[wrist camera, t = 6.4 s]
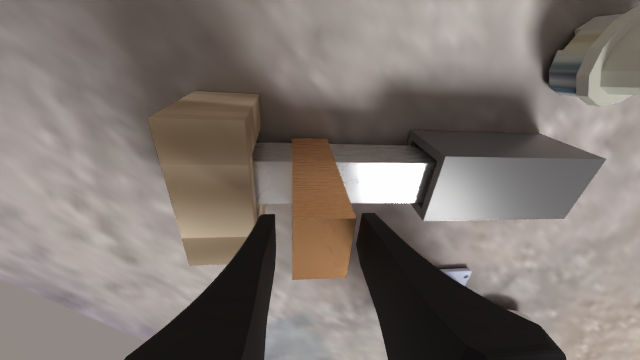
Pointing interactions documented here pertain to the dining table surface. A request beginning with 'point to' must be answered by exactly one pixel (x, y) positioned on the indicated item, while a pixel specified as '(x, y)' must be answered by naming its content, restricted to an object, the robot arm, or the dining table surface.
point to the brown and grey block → (334, 192)
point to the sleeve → (501, 175)
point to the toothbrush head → (600, 60)
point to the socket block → (210, 170)
